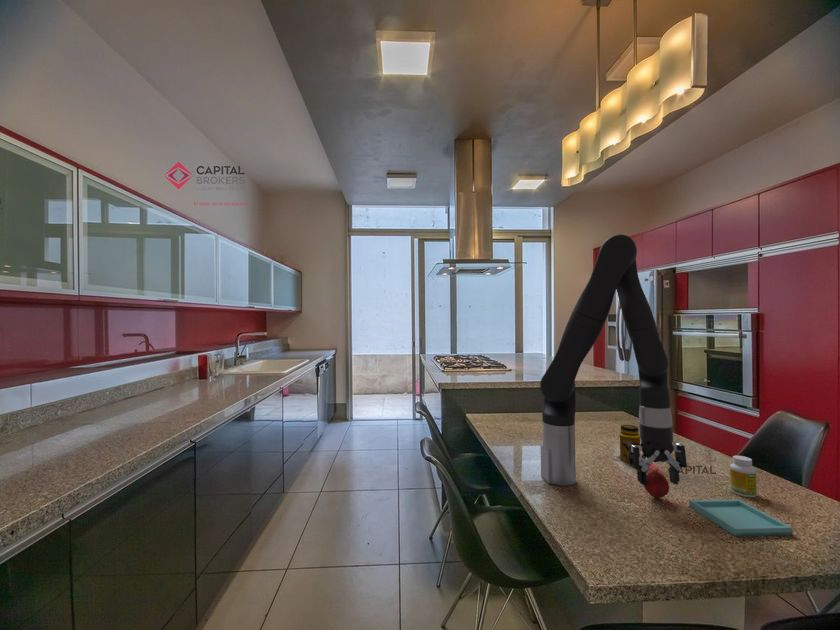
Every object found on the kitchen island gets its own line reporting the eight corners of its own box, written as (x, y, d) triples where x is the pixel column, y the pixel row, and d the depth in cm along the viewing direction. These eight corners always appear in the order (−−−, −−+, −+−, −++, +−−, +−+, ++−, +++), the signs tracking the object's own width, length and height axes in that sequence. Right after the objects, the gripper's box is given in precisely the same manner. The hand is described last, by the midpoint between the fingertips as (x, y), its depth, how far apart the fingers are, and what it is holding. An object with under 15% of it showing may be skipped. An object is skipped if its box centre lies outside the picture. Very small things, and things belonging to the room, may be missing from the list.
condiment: (632, 466, 119) (631, 430, 119) (609, 458, 126) (609, 423, 127) (647, 463, 121) (646, 427, 122) (624, 455, 129) (623, 421, 130)
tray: (735, 536, 79) (735, 529, 79) (689, 506, 92) (689, 500, 92) (792, 535, 80) (792, 527, 80) (738, 505, 93) (738, 499, 93)
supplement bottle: (751, 499, 96) (750, 462, 96) (726, 491, 101) (725, 456, 101) (760, 495, 98) (759, 459, 99) (736, 487, 103) (734, 453, 103)
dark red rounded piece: (673, 505, 93) (673, 473, 93) (649, 503, 94) (648, 472, 95) (663, 494, 99) (662, 465, 99) (640, 492, 100) (639, 463, 100)
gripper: (638, 427, 93) (641, 491, 93) (692, 425, 94) (695, 488, 93) (621, 420, 101) (624, 479, 100) (671, 418, 101) (674, 477, 101)
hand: (658, 483), depth 97 cm, fingers open, 8 cm apart
